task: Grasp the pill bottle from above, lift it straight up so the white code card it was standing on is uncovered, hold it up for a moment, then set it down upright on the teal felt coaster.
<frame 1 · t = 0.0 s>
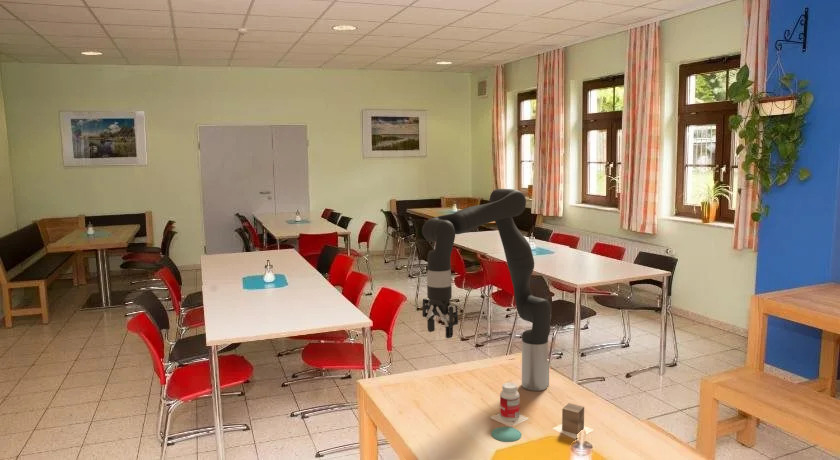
hand: (440, 334, 186), 29 cm above the table, tool pointing down, fingers open, 8 cm apart
coaster: (506, 434, 181), on the table
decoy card: (572, 429, 184), on the table
pill bottle: (509, 418, 192), resting on code card
code card: (509, 418, 192), on the table
walnut block: (572, 429, 184), resting on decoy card
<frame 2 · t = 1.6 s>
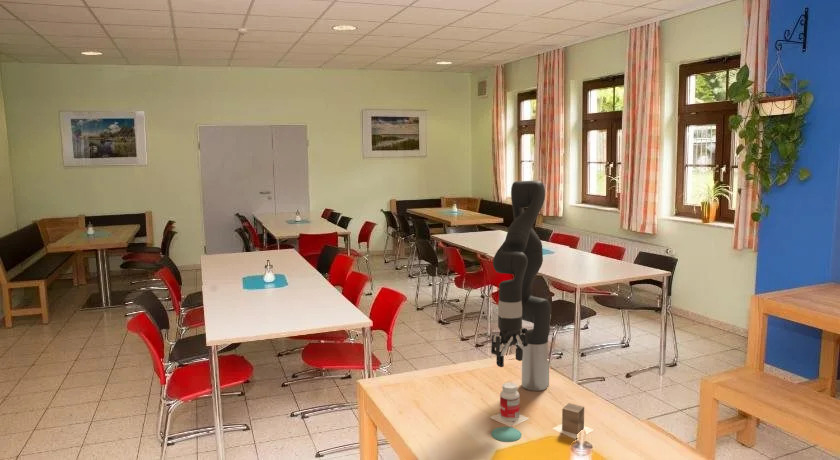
hand: (509, 363, 190), 19 cm above the table, tool pointing down, fingers open, 8 cm apart
nothing on the table moved.
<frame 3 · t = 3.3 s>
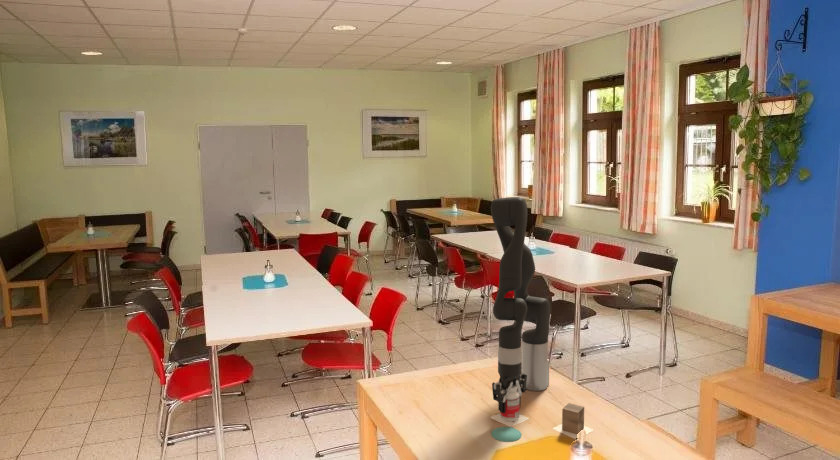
hand: (509, 409, 192), 3 cm above the table, tool pointing down, fingers closed on pill bottle, 6 cm apart
pill bottle: (509, 418, 192), resting on code card, touching gripper
everything else where it was.
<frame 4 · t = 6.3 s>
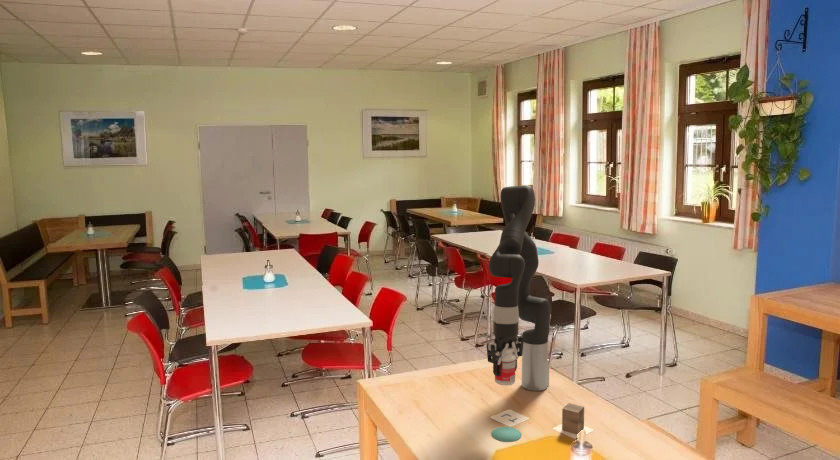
hand: (505, 373, 181), 19 cm above the table, tool pointing down, fingers closed on pill bottle, 6 cm apart
pill bottle: (504, 383, 182), point 15 cm above the table, touching gripper
everything else where it was.
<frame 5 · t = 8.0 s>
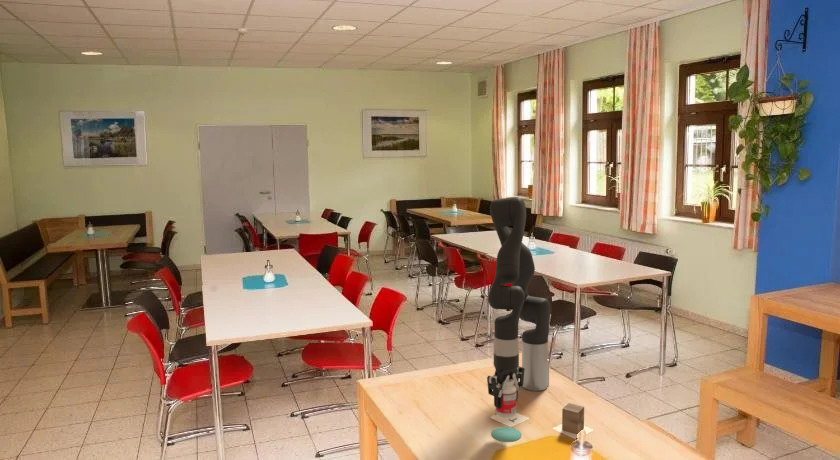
hand: (506, 404, 180), 10 cm above the table, tool pointing down, fingers closed on pill bottle, 6 cm apart
pill bottle: (505, 414, 180), point 7 cm above the table, touching gripper
everything else where it was.
when the fingers open (5 cm above the table, at t = 9.4 s): pill bottle drops 2 cm, resting on coaster.
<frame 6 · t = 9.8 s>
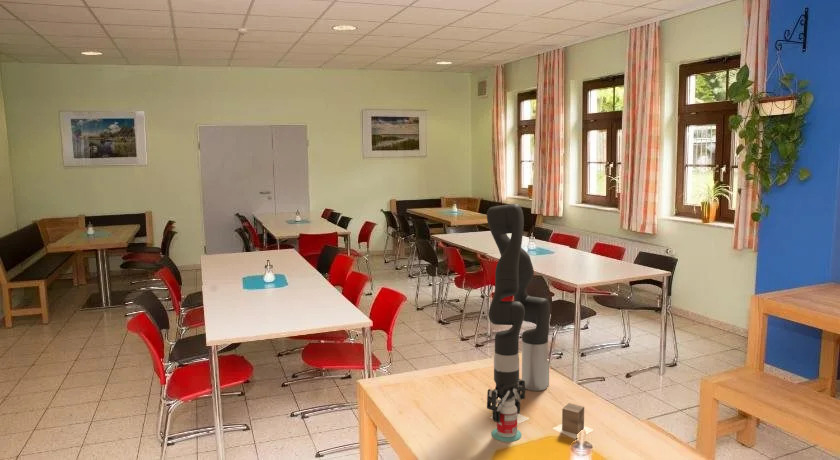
hand: (506, 417, 180), 6 cm above the table, tool pointing down, fingers open, 8 cm apart
pill bottle: (506, 434, 181), resting on coaster
everything else where it was.
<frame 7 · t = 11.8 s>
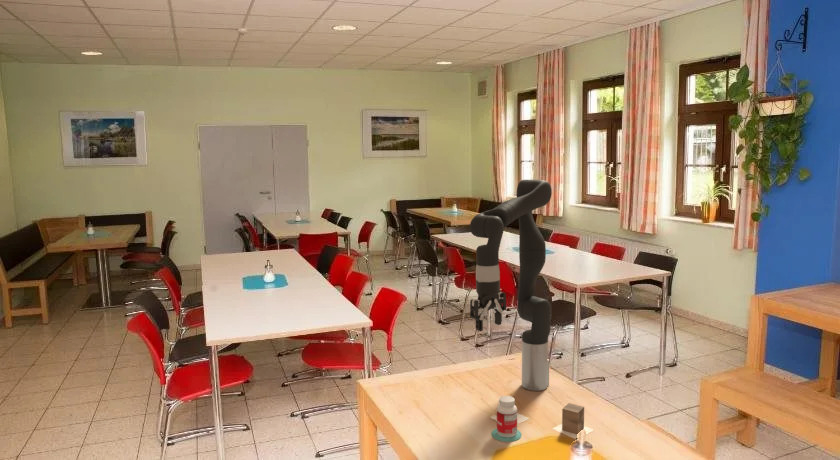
hand: (488, 327, 191), 30 cm above the table, tool pointing down, fingers open, 8 cm apart
nothing on the table moved.
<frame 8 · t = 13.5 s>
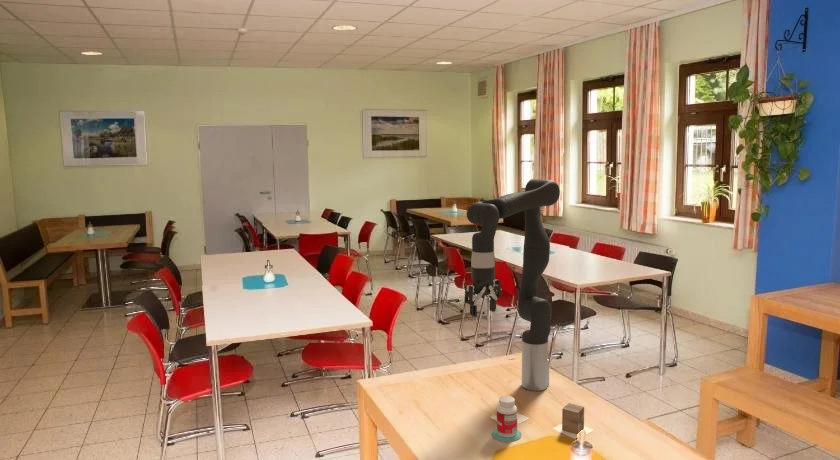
hand: (483, 313, 194), 33 cm above the table, tool pointing down, fingers open, 8 cm apart
nothing on the table moved.
at the end: pill bottle 0.2 cm from the coaster (horizontally); pill bottle tilted 0°; pill bottle touching coaster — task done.
